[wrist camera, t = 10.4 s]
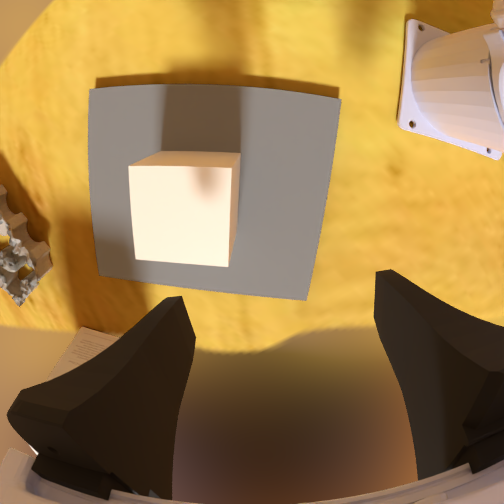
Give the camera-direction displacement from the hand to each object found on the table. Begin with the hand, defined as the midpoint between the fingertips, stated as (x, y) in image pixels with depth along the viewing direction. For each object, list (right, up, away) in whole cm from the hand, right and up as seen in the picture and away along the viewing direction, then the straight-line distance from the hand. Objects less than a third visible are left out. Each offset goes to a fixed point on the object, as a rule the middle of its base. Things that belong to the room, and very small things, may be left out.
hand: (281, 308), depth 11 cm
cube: (-4, +6, +8) cm, 11 cm away
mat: (-4, +6, +9) cm, 12 cm away
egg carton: (-23, +4, +12) cm, 26 cm away
